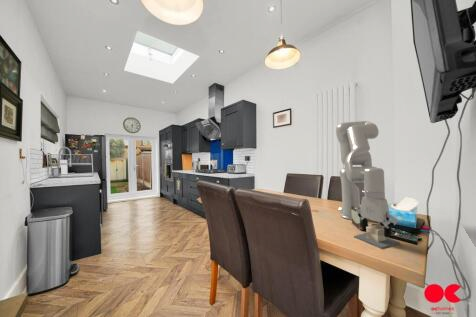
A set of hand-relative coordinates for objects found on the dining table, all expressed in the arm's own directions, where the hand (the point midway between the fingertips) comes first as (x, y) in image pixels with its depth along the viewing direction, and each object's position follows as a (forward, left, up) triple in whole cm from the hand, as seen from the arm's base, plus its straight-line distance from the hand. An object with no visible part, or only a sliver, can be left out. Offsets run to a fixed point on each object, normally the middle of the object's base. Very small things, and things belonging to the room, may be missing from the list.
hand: (375, 232), depth 82 cm
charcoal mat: (0, 0, -4) cm, 4 cm away
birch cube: (0, 0, -3) cm, 3 cm away
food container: (-13, +9, -4) cm, 16 cm away
